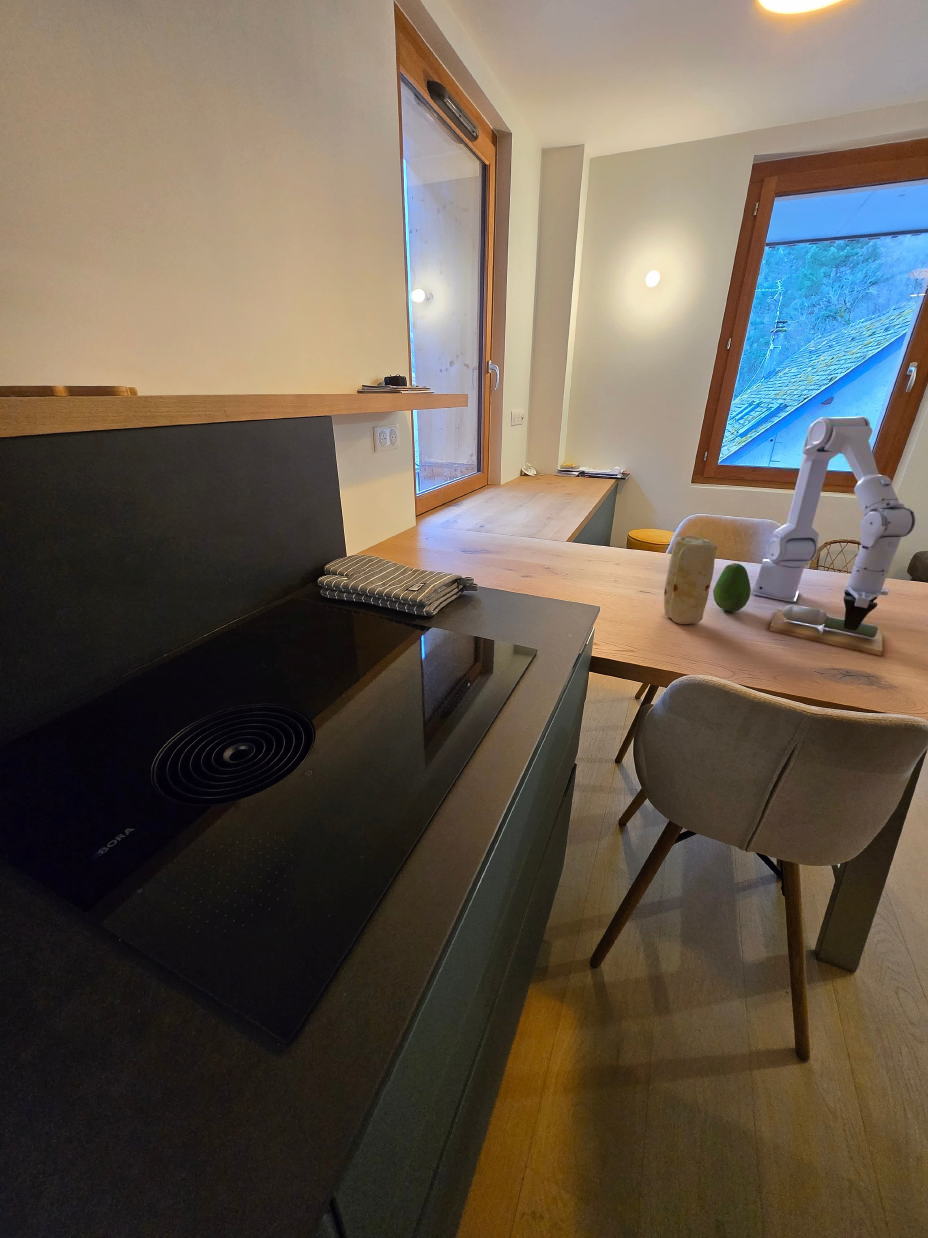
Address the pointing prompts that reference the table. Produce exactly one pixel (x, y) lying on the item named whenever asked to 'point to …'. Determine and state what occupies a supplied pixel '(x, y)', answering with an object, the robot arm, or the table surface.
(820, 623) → the green-handled cylinder
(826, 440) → the robot arm
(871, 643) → the board
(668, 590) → the food model
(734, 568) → the avocado
